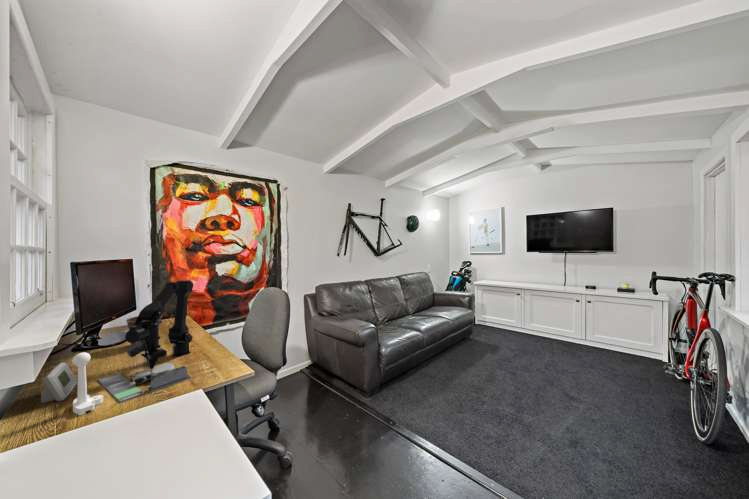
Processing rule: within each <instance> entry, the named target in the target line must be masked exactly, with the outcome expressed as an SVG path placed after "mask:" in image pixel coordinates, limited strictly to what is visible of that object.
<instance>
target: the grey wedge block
mask: <svg viewBox="0 0 749 499" xmlns="http://www.w3.org/2000/svg"><path fill="white" fill-rule="evenodd" d="M188 380H191V375H188V367H187V366H185V365H182V366H180V367H177V368H176V367H175V369H173V370H170V371H167V372H164V373H160V374H157V375H154V376H151V379H150V386H149V387H147V391H148V392H150V393H154V392H156V391H157V392H158V391H159V390H160V391H161V390H163V389H166V388H168V387H170V386H174V385H176V384H179V383H182V382H185V381H188Z"/></svg>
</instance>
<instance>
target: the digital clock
mask: <svg viewBox="0 0 749 499" xmlns="http://www.w3.org/2000/svg"><path fill="white" fill-rule="evenodd" d="M43 382H44V384H45V387H44V388H43V389H42V390H41V392H40V403H48V402H53V401H56V402H62V401H64V400H65V399H66V398H68V396H69V395H70V393H71V392H72V391H73V390H74V388H75V387H76V385H78V379H76V377H75V375H74V373H73V372H72V370H71V369H70V367H69V365H68V364H67V363H66V362H60V363H58V364H57V365H56V366H54V367H53V368H52V370H51V371H49V372H48V373H47V375H46V376H45V377H43Z"/></svg>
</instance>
